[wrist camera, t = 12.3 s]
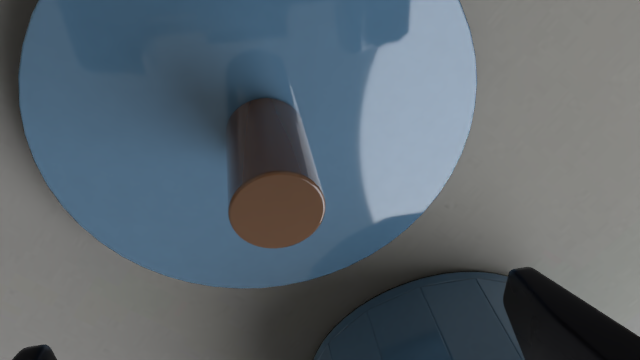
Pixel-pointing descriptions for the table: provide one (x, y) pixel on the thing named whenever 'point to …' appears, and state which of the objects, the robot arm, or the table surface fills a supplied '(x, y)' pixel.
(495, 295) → the bowl
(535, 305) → the robot arm
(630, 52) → the table surface
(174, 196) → the bowl lid
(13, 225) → the table surface
